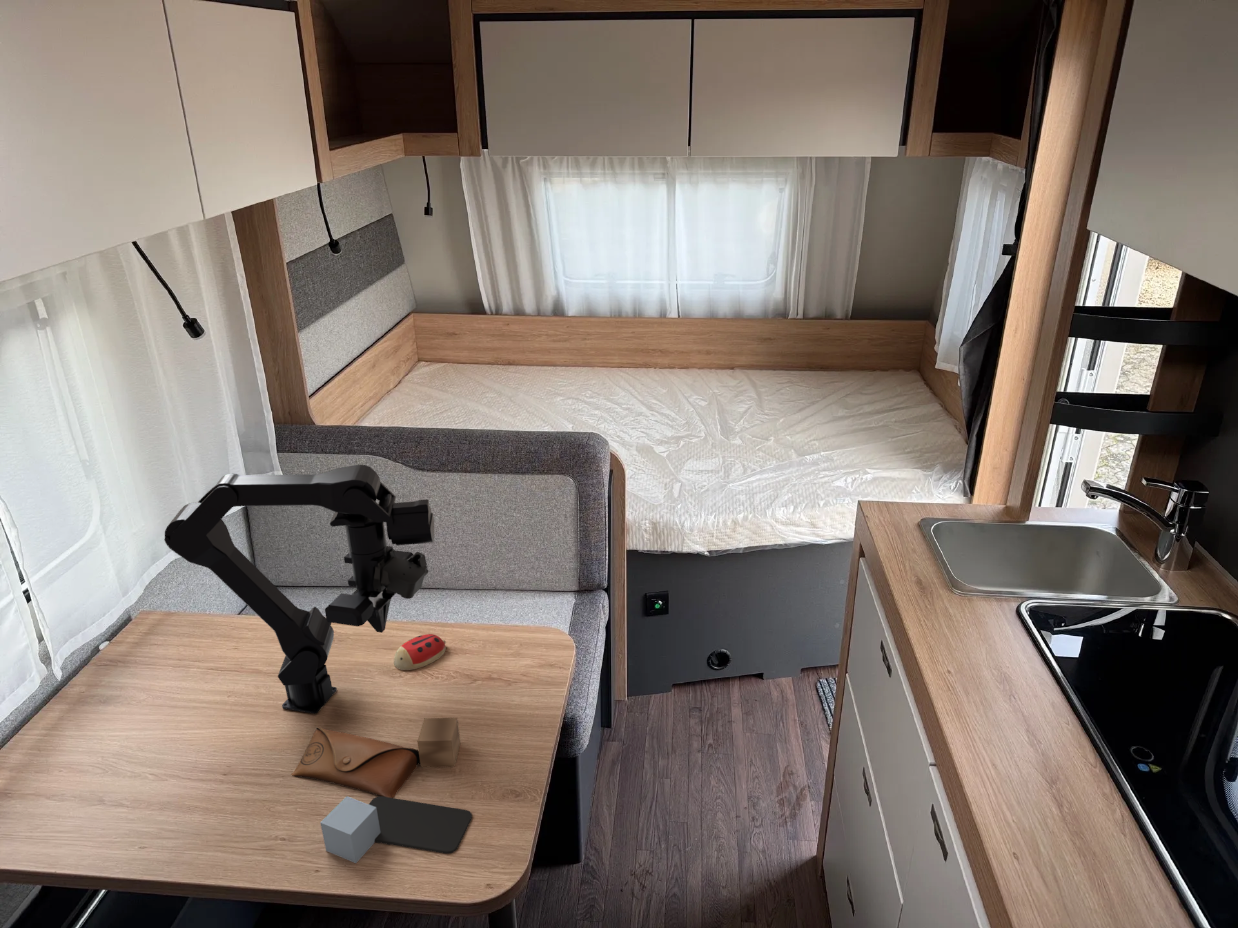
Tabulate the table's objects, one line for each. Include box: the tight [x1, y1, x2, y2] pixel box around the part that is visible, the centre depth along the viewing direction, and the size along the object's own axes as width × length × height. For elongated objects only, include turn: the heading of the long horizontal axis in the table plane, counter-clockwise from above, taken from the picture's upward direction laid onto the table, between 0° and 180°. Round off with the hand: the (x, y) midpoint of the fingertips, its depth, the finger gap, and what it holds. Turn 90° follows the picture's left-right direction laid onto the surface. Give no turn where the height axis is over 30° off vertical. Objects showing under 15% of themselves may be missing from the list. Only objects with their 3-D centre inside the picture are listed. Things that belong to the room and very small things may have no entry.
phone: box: [368, 796, 473, 855], centre depth 115 cm, size 7×1×15 cm
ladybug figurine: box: [393, 633, 447, 671], centre depth 151 cm, size 7×10×4 cm
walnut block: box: [416, 717, 461, 768], centre depth 127 cm, size 5×5×5 cm
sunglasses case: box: [290, 726, 421, 798], centre depth 126 cm, size 18×7×7 cm
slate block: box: [319, 795, 381, 864], centre depth 112 cm, size 5×5×5 cm
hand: (380, 631), depth 138 cm, fingers closed
